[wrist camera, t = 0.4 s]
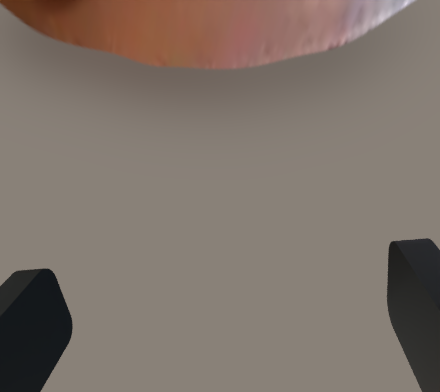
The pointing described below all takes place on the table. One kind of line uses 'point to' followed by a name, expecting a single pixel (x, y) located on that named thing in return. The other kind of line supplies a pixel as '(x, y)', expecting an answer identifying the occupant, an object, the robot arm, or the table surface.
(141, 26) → the table surface
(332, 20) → the table surface
